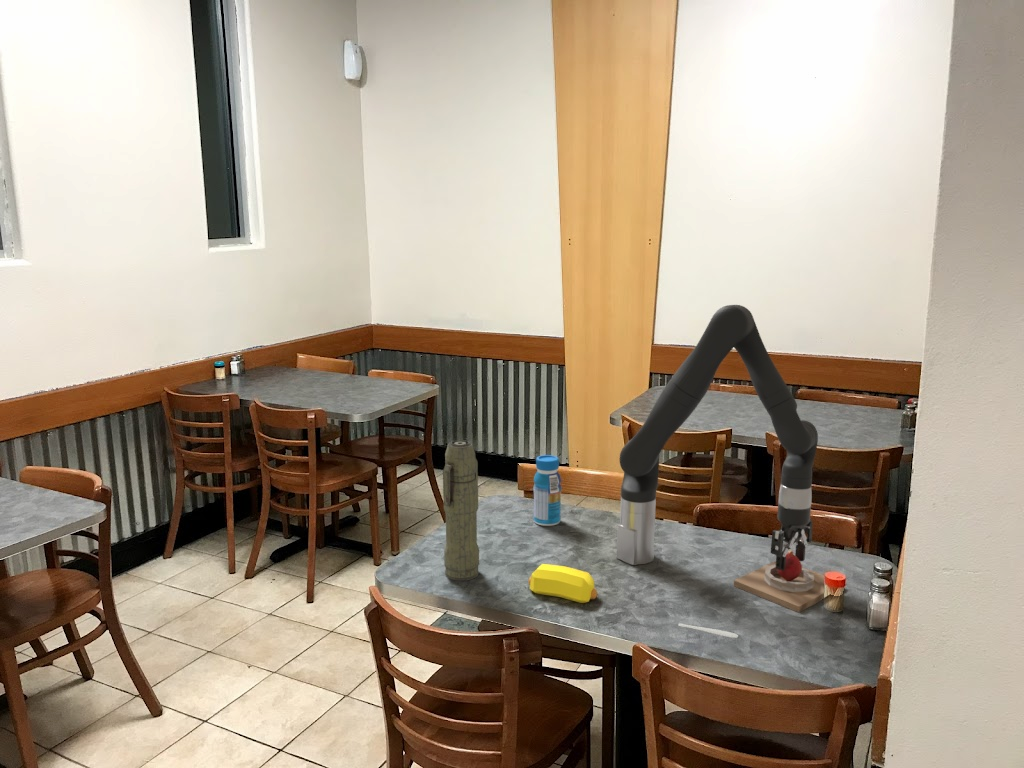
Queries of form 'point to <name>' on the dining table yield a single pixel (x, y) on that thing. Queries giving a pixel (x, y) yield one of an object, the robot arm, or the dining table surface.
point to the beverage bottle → (547, 491)
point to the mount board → (779, 595)
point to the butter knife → (712, 631)
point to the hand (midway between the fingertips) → (790, 564)
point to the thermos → (461, 511)
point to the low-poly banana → (563, 583)
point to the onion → (791, 567)
